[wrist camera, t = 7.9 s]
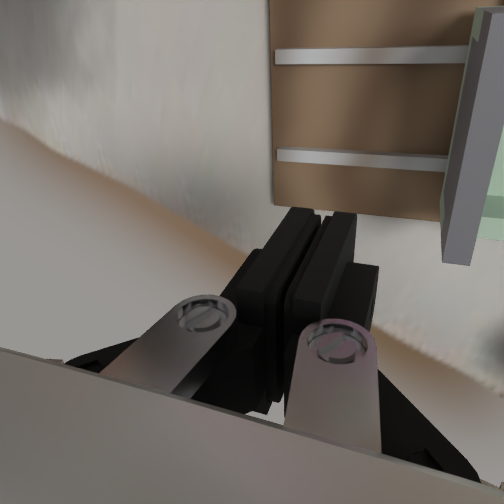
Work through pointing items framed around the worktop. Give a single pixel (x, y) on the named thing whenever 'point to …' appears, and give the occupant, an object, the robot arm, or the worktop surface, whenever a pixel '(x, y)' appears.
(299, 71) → the track
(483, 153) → the toy truck
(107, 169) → the worktop surface
